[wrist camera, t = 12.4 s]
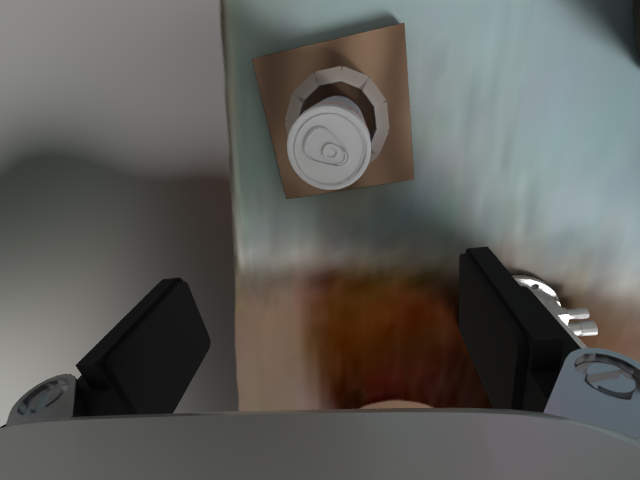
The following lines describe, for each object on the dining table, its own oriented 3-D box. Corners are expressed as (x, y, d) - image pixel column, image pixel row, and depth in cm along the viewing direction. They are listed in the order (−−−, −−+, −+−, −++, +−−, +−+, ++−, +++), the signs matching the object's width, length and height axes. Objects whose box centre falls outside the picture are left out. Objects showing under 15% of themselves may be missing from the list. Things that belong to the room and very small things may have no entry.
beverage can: (307, 99, 33) (277, 110, 20) (361, 91, 32) (368, 96, 19) (314, 153, 35) (292, 196, 22) (365, 147, 35) (374, 187, 21)
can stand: (402, 25, 31) (409, 16, 27) (411, 175, 37) (419, 186, 33) (255, 59, 33) (242, 56, 29) (288, 195, 39) (281, 207, 35)
